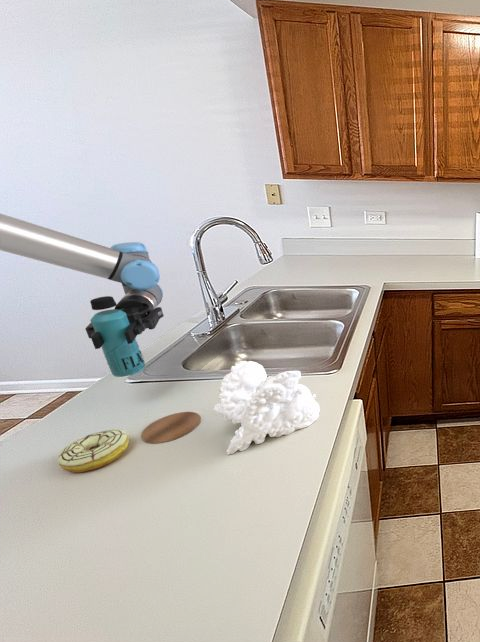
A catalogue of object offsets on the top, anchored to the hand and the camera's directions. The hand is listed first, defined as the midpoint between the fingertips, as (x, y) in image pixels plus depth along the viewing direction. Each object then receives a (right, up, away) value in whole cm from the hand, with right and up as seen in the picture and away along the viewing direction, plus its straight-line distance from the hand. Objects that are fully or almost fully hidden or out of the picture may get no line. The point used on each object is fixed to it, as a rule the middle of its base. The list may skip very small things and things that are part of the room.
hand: (112, 340), depth 87 cm
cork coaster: (+11, -20, +3) cm, 23 cm away
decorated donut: (+3, -24, -6) cm, 25 cm away
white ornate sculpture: (+34, -21, +3) cm, 40 cm away
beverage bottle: (-3, -9, +9) cm, 13 cm away
